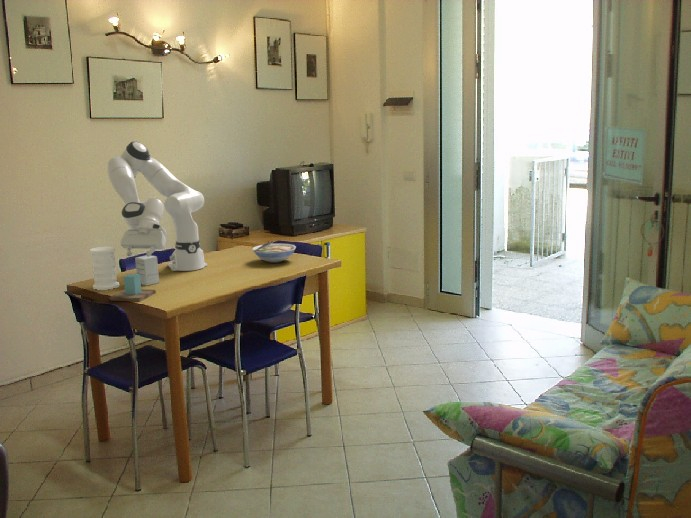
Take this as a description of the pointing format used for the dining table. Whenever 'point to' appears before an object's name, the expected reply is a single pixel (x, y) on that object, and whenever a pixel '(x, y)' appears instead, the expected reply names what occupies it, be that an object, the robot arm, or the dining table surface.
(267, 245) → the ramen bowl
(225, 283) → the dining table surface
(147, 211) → the robot arm
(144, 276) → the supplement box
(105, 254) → the decorative container
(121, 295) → the walnut board
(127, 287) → the teal block
